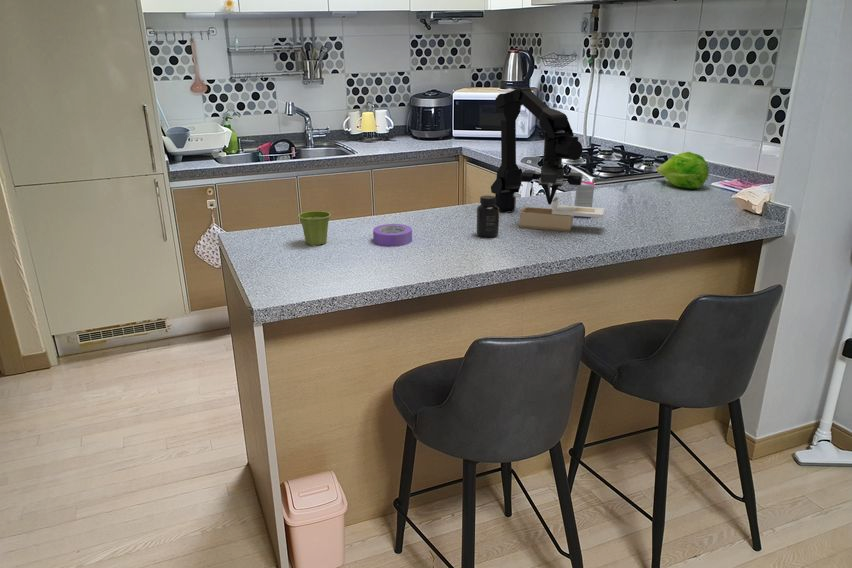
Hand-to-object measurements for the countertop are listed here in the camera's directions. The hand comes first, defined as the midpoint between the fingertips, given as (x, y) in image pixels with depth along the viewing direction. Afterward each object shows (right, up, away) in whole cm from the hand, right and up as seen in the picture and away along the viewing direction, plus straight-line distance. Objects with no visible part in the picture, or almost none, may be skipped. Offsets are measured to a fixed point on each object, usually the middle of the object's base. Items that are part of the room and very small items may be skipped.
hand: (549, 204), depth 212 cm
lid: (+9, -3, -2) cm, 9 cm away
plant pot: (-72, -13, -13) cm, 75 cm away
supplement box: (+14, -2, +15) cm, 21 cm away
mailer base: (-1, -7, +3) cm, 7 cm away
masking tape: (-49, -13, -11) cm, 52 cm away
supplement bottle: (-20, -10, -6) cm, 24 cm away
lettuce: (+63, +14, +59) cm, 87 cm away
